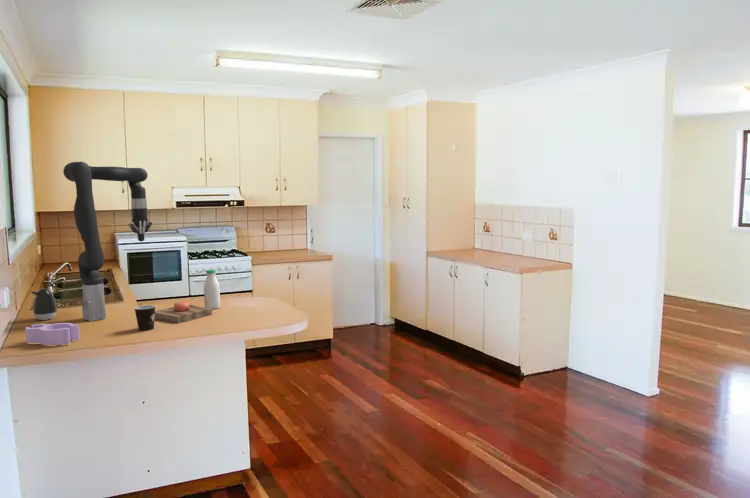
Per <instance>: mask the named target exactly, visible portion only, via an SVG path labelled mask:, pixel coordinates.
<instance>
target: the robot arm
mask: <svg viewBox="0 0 750 498" xmlns="http://www.w3.org/2000/svg"><path fill="white" fill-rule="evenodd" d="M62 173H63V176H64V177H65V179H67V180H68V181H70V182H74V183H75V189H76V196H75V197H76V198H75V202H74V207H73V216H74V222H75V226H76V229H77V230H78V233H79V234H80V236H81V238H82V241H83V245H84V250H83V251H82V252H81V253H80V254H79V256H78V259H77V260H78V262H77V263H78V272H79V278H80V281H81V285H82V286H81V287H82V300H81V310H82V320H83V321H87V320H88V322H95V321H100V320H104V319H106V318H107V317H106V316H107V315H106V304H105V303H106V301H105V300H106V299H105V290H104V278H103V276H102V275H101V274H100V269H102V268H103V266H104V265H105V255H104V251H103V249H102V245H101V240H100V234H99V227H98V218H97V212H96V207H95V200H94V195H93V180H97V181H98V180H99V181H107V182H108V181H111V182H127V183H128V186H129V190H130V197H131V198H130V205H131V217H132V219H131V222H130V223H128V224H127V225H128V227H129V228H130V230H131V231H132V232H133V233H134V234H137V240H138V241H139V242H144V241H145V233H148V232H149V230H150V228H151V226H152V225H153V222H151V221H149V219H148V202H147V194H146V192H147V191H146V189H145V187H144V186H142V184H141V183H142V182H144V181H146V180H147V178H148V177H149V176H148V173H147V170H146V169H145V168H141V167H123V166H92V165H91V166H90V165H89V164H88V163H87V162H84V161H71V162H69V163H67V164H65V166H64V167H63V171H62Z"/></svg>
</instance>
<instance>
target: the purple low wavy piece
mask: <svg viewBox="0 0 750 498" xmlns="http://www.w3.org/2000/svg"><path fill="white" fill-rule="evenodd" d="M25 337H26V338H25V339H26V341H25V342H26V344H27V343H41V344H43V345H62V344H71V342H72V341H71V340H79V339H80V326H79V324H74V323H73V322H72V323H71V322H57V323H36V324H31V326H27V327H25ZM70 339H71V340H70ZM79 341H80V340H79ZM62 346H63V345H62Z"/></svg>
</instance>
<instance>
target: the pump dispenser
mask: <svg viewBox="0 0 750 498" xmlns="http://www.w3.org/2000/svg"><path fill="white" fill-rule="evenodd" d="M31 294H32V295H35V298H34V301H33V306H32V307H33V308H32V314H34V317H35V319H37V320H39V321H49V320H48V319H50V320H52V319H54V317H55V316H56V315H57V311H58V307H57V303H56V300H55V298H54V296H53V294H52V292H51V291H50V290H49V289H47V288H44V287H43V288H40V289H39V290H38V291H31Z"/></svg>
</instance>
